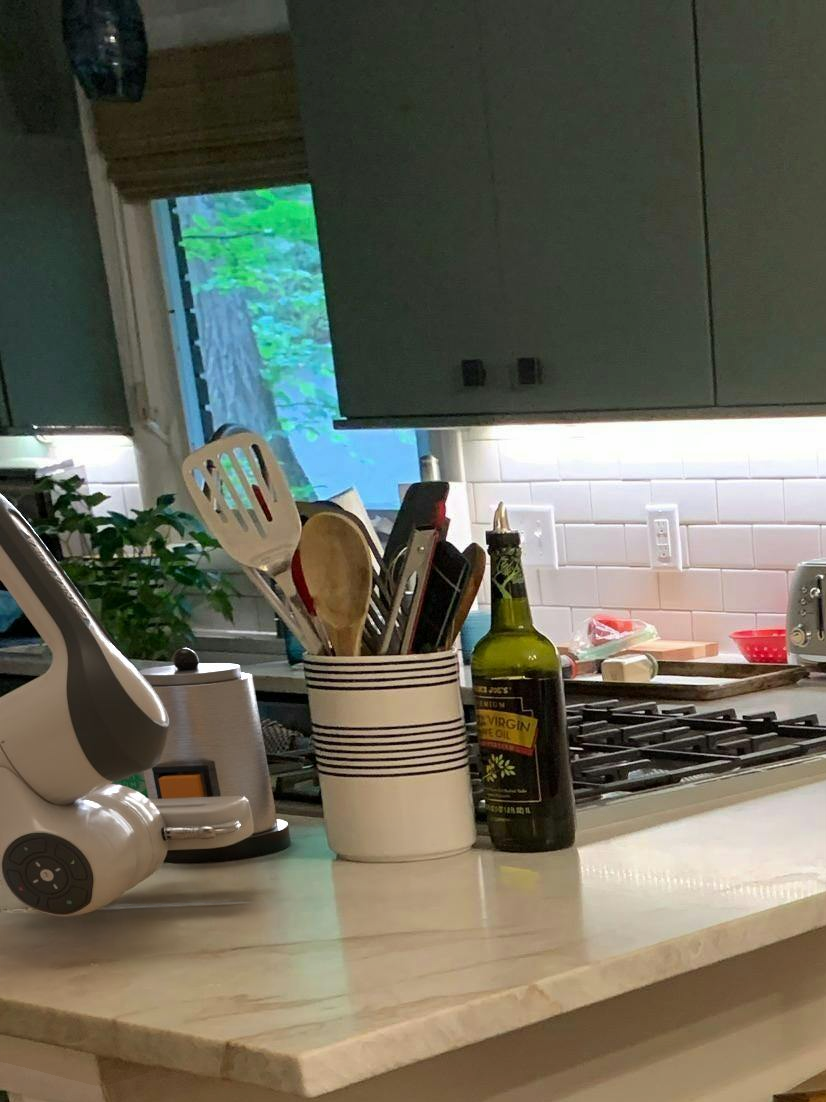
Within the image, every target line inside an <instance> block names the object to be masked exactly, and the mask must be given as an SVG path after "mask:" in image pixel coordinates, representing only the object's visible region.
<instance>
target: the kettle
mask: <svg viewBox="0 0 826 1102" xmlns="http://www.w3.org/2000/svg"><path fill="white" fill-rule="evenodd" d="M172 661H173V664H172V665H164V666H157V667H155V666H154V667H150V668H143V669H138V670H139V672H140V673H141V674H142V675H143V677H144V678H145V679H146V680H147V681H148V683H149V684H150V685H151V686H152V688H153V689H154V690H155V692H156V693H157V695H158V697H159V698H160V700H161V702H162V704H163V705H164V707H165V709H166V712H167V714H168V718H169V729H168V735H167V739H166V743H165V746H164V749H163V752H162V755H161V757H160V760H159V762H158V764H157V765H156V766H155V767H153V768H150V769H148V770H145V771H143V773H144V778H145V783H146V789H147V794H148V799H162V795H161V790H160V784H159V778H161V777H163V776H169V775H193V774H201V778H202V783H203V788H204V794H205V797H221V796H241V797H245V798H247V799H248V801H249V803H250V807H251V812H252V817H253V825H254V832H253V834H252V835H251V836H249V837H248V838H246V839H244V840H241V841H239V842H237V843H235V844H232V845H229V846H224V847H218V848H209V849H186V850H168V851H167V854H166V857H165V860H164V861H163V863H170V864H171V863H173V864H204V863H220V862H229V861H236V860H243V859H251V858H256V857H262V856H265V855H270V854H274V853H277V852H280V851H282V850H284V849H287V848H288V847H290V845H291V844H292V840H291V834H290V827H289V824H288V822H287V821H285V820H283V819H278V818H277V812H276V811H277V810H276V806H275V800H274V795H273V794H274V793H273V789H272V782H271V775H270V772H269V766H268V765H269V764H268V759H267V758H268V757H267V753H266V747H265V741H264V736H263V730H262V724H261V719H260V711H259V708H258V706H259V705H258V701H257V695H256V688H255V683H254V677H253V675H252V674H251V673H247V672H246V673H245V672H242V670H241V666H240V665H239V664H236V663H226V662H224V663H221V662H215V663H213V662H212V663H206V662H205V663H200V659H199V656H198V654H197V653H196V651H194V650H193V649H190V648H187V647H182V648H178V649H177V650H176V651H175V652H174V654H173V657H172Z"/></svg>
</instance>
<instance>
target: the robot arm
mask: <svg viewBox="0 0 826 1102" xmlns="http://www.w3.org/2000/svg"><path fill="white" fill-rule="evenodd" d="M0 581H1V583H2V584H3V586H4V587H5V588H6V590H7V591H8V592H9V593H10V595H11V597H12V598H13V599H14V601H15V602H16V604H17V605H18V606H19V608H20V609H21V611H22V612H23V613H24V615H25V617H26V618H27V619H28V620H29V622H30V623H31V624H32V626H33V627H34V629H35V630H36V632H37V633H38V634H39V636H40V638H41V639H42V640H43V641H44V643H45V644H46V645H47V647H48V648H49V650H50V651H51V654H52V661H51V664H50V666H49V668H48V669H47V671H46V672H45V673H44V674H42V675H40V676H38V677H36V678H34V679H32V680H30V681H28V682H27V683H25V684H23V685H21V686H19V687H17V688H15V689H13V690H11V691H9V692H8V693H6V694H4V695H2V696H0V876H1V878H2V880H3V882H4V884H5V886H6V888H8V890H9V891H10V893H11V894H12V895H13V896H14V897H15V898H16V899H17V900H18V901H20V902H21V903H22V904H23V905H25V906H27V907H28V908H29V909H32V910H35V911H37V912H40V913H42V914H45V915H50V916H54V917H75V916H80V915H85V914H88V913H91V912H94V911H97V910H99V909H101V908H104V907H105V906H107V905H108V904H110V903H112V902H114V901H115V900H117V899H118V898H120V896H122V895H123V894H124V893H125V892H127V891H129V890H131V889H133V888H134V887H136V886H137V885H140V883H142V882H143V881H144V880H146V879H148V878H149V877H151V876H152V875H154V874H155V873H156V872H157V871H158V870H159V869H160V867H161V866H162V864H164V862H163V861H164V860H165V857H166V854H167V851H168V850H186V849H209V848H218V847H224V846H229V845H232V844H235V843H237V842H239V841H241V840H244V839H246V838H248V837H249V836H251V835H252V834H253V832H254V825H253V817H252V812H251V807H250V803H249V801H248V799H247V798H245V797H241V796H221V797H195V798H168V799H148V798H146V797H145V796H144V795H142V794H141V793H139V792H137V791H136V790H134V789H131V788H129V787H126V786H122V785H117V784H110V783H112V782H117V781H120V780H122V779H125V778H128V777H130V776H133V775H135V774H138V773H140V772H143V771H145V770H148V769H150V768H153V767H155V766H156V765H157V764H158V762H159V760H160V757H161V755H162V752H163V749H164V746H165V743H166V739H167V735H168V729H169V718H168V714H167V712H166V709H165V707H164V705H163V704H162V702H161V700H160V698H159V697H158V695H157V693H156V692H155V690H154V689H153V688H152V686H151V685H150V684H149V683H148V681H147V680H146V679H145V678H144V677H143V675H142V674H141V673H140V672H139V670H140V669H138V668H137V666H136V665H135V664H134V662H132V661H131V660H130V658H129V656H127V654H125V653H124V652H123V650H122V649H121V647H120V646H119V645H118V644H117V643H116V641H115V640H114V639H113V638H112V636H111V635H110V634H109V632H108V630H107V629H106V628H105V627H104V625H103V624H102V623H101V621H100V619H99V618H98V617H97V615H96V614H95V613H94V611H93V609H91V607H90V605H89V604H88V603H87V601H86V600H85V599H84V598H83V596H82V594H81V592H80V591H79V590H78V588H77V587H76V586H75V584H74V583H73V582H72V580H71V578H69V576H68V575H67V573H66V572H65V570H64V569H63V568H62V566H61V565H60V564H59V562H58V560H57V559H56V558H55V556H54V555H53V554H52V552H51V551H50V550H49V549H48V547H47V546H46V544H45V543H44V542H43V540H42V539H41V537H39V535H38V534H37V532H36V531H35V530H34V529H33V527H32V525H30V524H29V522H28V521H27V520H26V519H25V517H24V516H23V515H22V514H21V512H20V511H19V510H18V509H17V508H16V507H15V506H14V505H13V504H12V503H11V502H10V500H9V501H8V499H7V498H6V497H5V496H4V495H2V494H1V493H0Z"/></svg>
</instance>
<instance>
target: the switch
mask: <svg viewBox="0 0 826 1102" xmlns="http://www.w3.org/2000/svg"><path fill="white" fill-rule="evenodd" d="M159 784H160V790H161V795H162V799H168V798H195V797H205V794H204V788H203V783H202V778H201V774H193V775H169V776H163V777H161V778H159Z"/></svg>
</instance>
